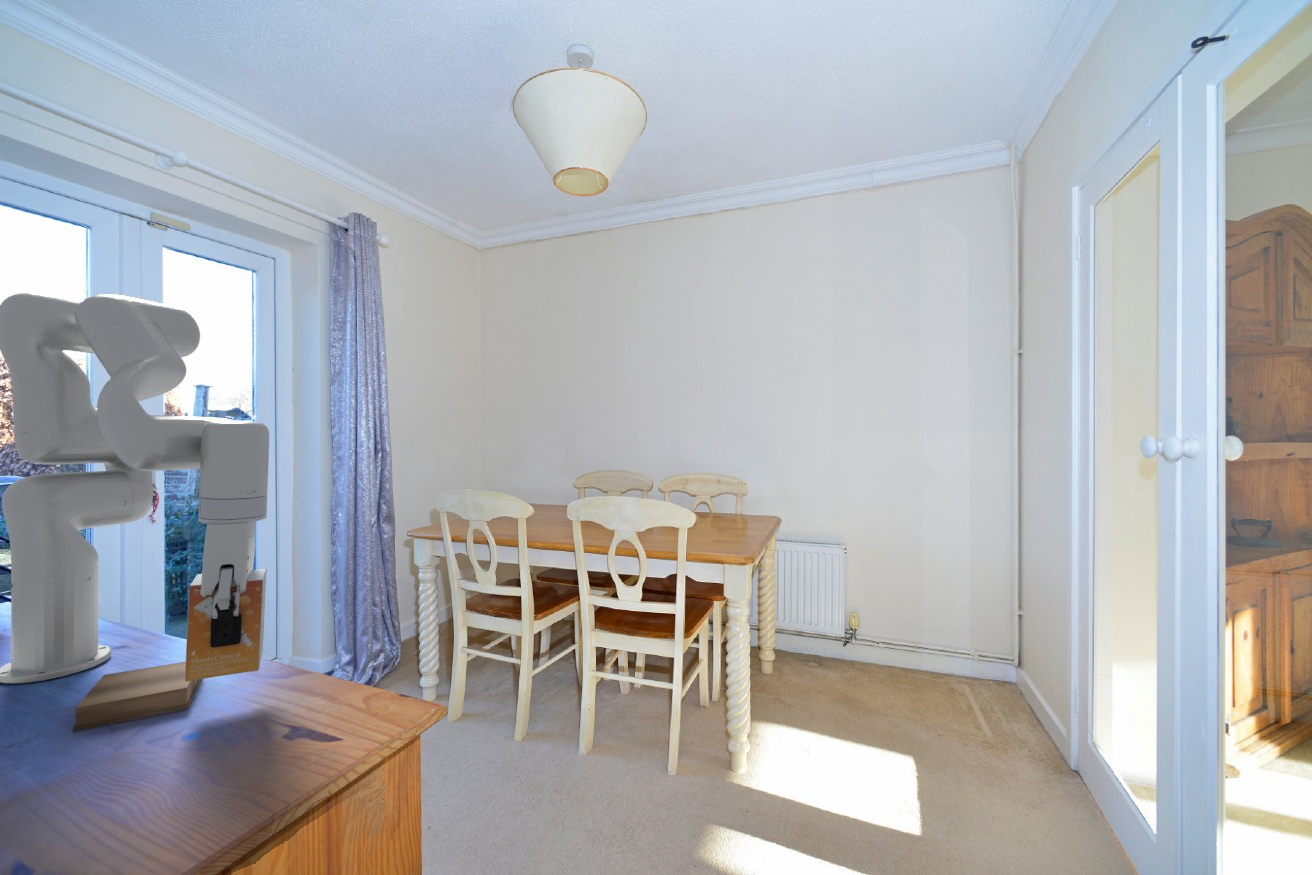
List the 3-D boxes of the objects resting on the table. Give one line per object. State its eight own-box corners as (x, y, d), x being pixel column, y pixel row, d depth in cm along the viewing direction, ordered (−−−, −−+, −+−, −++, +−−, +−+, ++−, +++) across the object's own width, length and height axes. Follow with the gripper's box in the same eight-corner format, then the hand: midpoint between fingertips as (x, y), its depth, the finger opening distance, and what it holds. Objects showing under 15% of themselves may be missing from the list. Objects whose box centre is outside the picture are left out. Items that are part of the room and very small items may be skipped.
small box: (184, 683, 71) (187, 585, 71) (193, 664, 76) (196, 572, 76) (260, 671, 75) (263, 578, 75) (263, 653, 81) (266, 567, 80)
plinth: (102, 694, 79) (102, 674, 79) (202, 677, 85) (202, 658, 85) (72, 732, 69) (72, 708, 69) (188, 709, 76) (188, 687, 76)
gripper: (209, 500, 81) (205, 619, 81) (186, 520, 66) (181, 665, 66) (271, 499, 85) (266, 612, 85) (261, 518, 70) (256, 654, 70)
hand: (229, 634), depth 76 cm, fingers closed on small box, 6 cm apart
